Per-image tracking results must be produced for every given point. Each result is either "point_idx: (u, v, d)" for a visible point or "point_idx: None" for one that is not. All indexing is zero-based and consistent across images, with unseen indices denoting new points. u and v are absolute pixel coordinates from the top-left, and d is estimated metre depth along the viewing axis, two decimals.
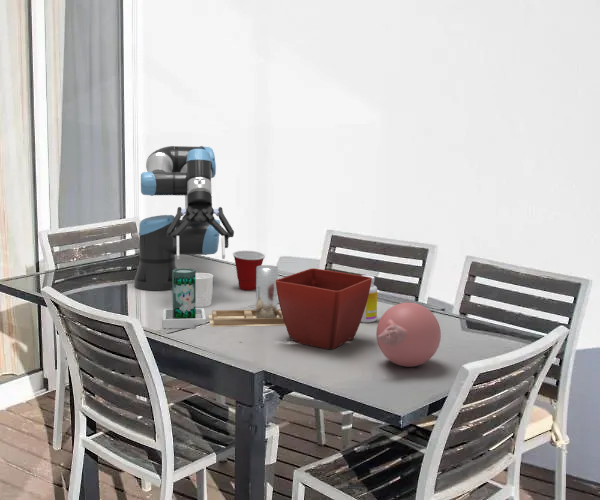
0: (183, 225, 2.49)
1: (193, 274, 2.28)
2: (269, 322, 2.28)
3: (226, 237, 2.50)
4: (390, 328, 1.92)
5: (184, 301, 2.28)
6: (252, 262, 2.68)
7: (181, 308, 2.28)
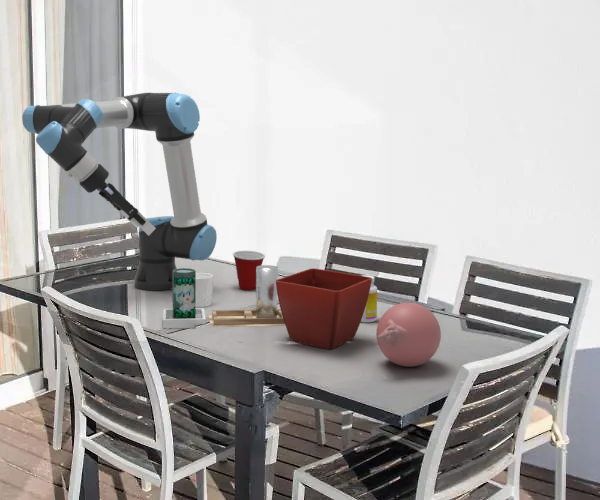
0: (112, 203, 2.23)
1: (193, 274, 2.28)
2: (269, 322, 2.28)
3: (134, 218, 2.13)
4: (390, 328, 1.92)
5: (184, 301, 2.28)
6: (252, 262, 2.68)
7: (181, 308, 2.28)
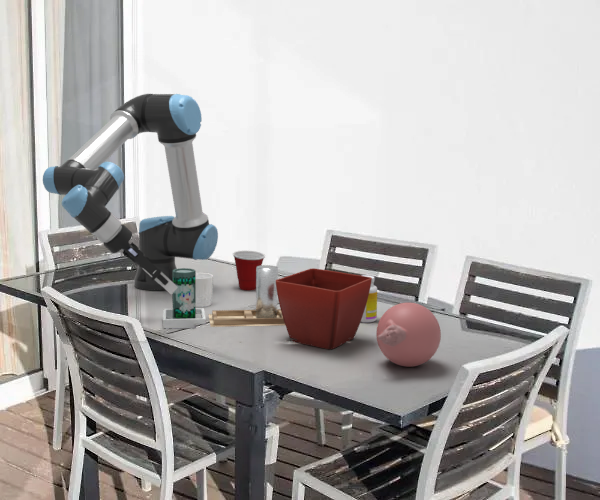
0: None
1: (193, 274, 2.28)
2: (269, 322, 2.28)
3: (157, 278, 2.18)
4: (390, 328, 1.92)
5: (184, 301, 2.28)
6: (252, 262, 2.68)
7: (181, 308, 2.28)
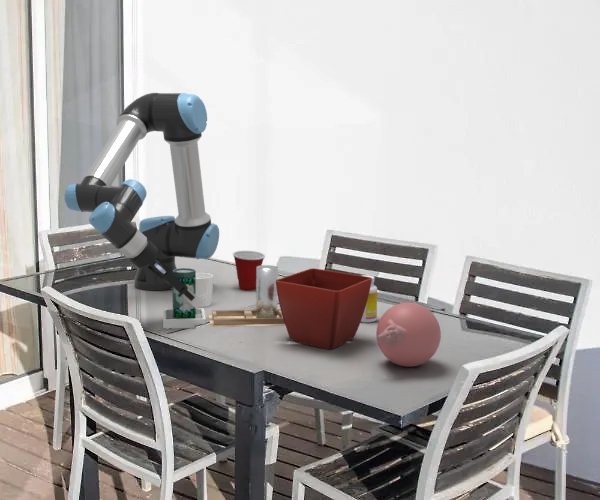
0: (164, 279, 2.31)
1: (193, 274, 2.28)
2: (269, 322, 2.28)
3: (183, 293, 2.26)
4: (390, 328, 1.92)
5: (184, 301, 2.28)
6: (252, 262, 2.68)
7: (181, 308, 2.28)
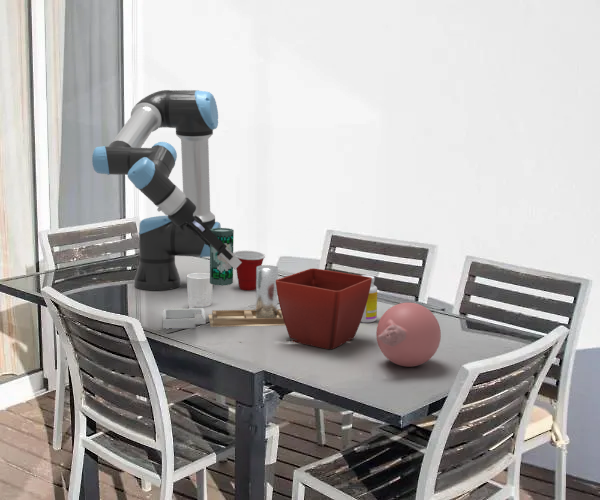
0: (201, 238, 2.27)
1: (231, 233, 2.25)
2: (269, 322, 2.28)
3: (221, 252, 2.23)
4: (390, 328, 1.92)
5: (222, 260, 2.25)
6: (252, 262, 2.68)
7: (219, 267, 2.25)
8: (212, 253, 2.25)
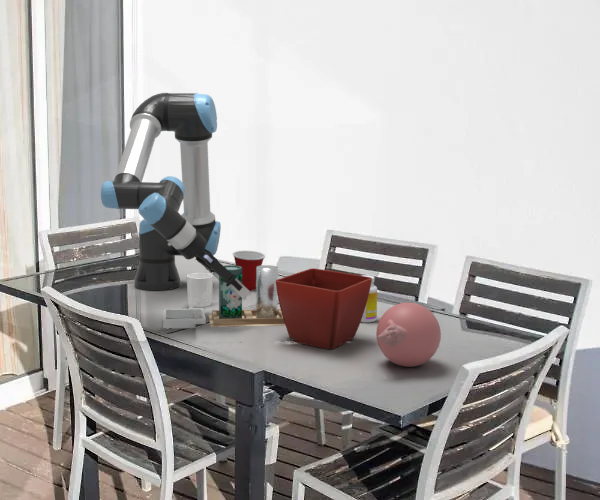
0: (206, 266, 2.31)
1: (240, 271, 2.28)
2: (269, 322, 2.28)
3: (231, 284, 2.21)
4: (390, 328, 1.92)
5: (231, 298, 2.27)
6: (252, 262, 2.68)
7: (228, 305, 2.28)
8: (221, 291, 2.28)
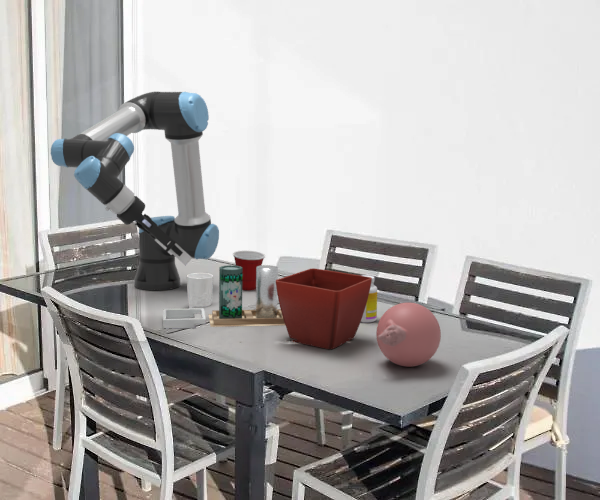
0: None
1: (240, 271, 2.28)
2: (269, 322, 2.28)
3: (171, 249, 2.17)
4: (390, 328, 1.92)
5: (231, 298, 2.27)
6: (252, 262, 2.68)
7: (228, 305, 2.28)
8: (222, 291, 2.28)
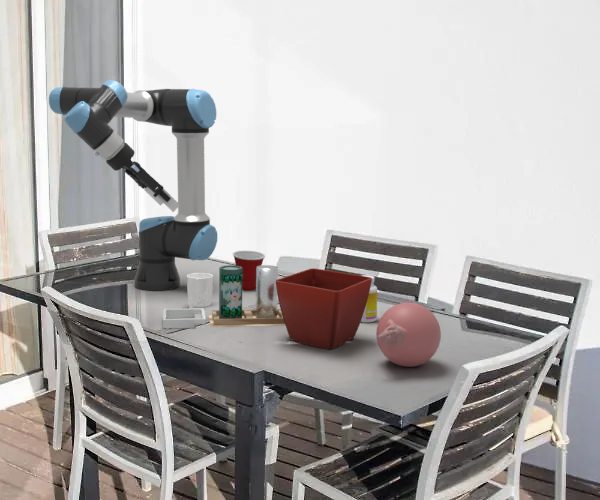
0: (137, 181, 2.30)
1: (240, 271, 2.28)
2: (269, 322, 2.28)
3: (159, 195, 2.20)
4: (390, 328, 1.92)
5: (231, 298, 2.27)
6: (252, 262, 2.68)
7: (228, 305, 2.28)
8: (222, 291, 2.28)
